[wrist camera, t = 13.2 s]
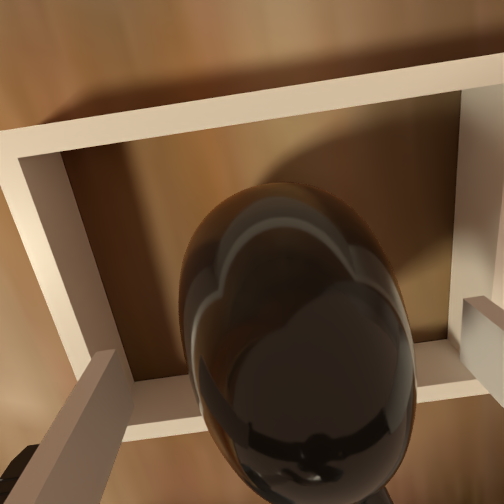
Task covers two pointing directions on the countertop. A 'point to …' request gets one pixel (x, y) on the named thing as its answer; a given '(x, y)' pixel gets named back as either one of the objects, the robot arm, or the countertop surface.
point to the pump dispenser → (298, 346)
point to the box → (237, 112)
